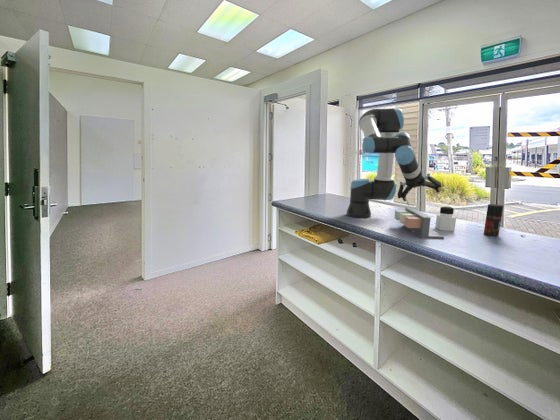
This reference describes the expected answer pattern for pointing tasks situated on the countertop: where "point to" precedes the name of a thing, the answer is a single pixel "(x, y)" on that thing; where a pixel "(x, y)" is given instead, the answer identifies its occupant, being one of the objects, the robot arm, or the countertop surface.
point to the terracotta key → (413, 222)
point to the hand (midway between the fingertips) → (422, 199)
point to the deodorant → (493, 220)
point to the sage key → (397, 213)
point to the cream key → (403, 215)
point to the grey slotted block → (424, 226)
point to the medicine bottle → (445, 219)
